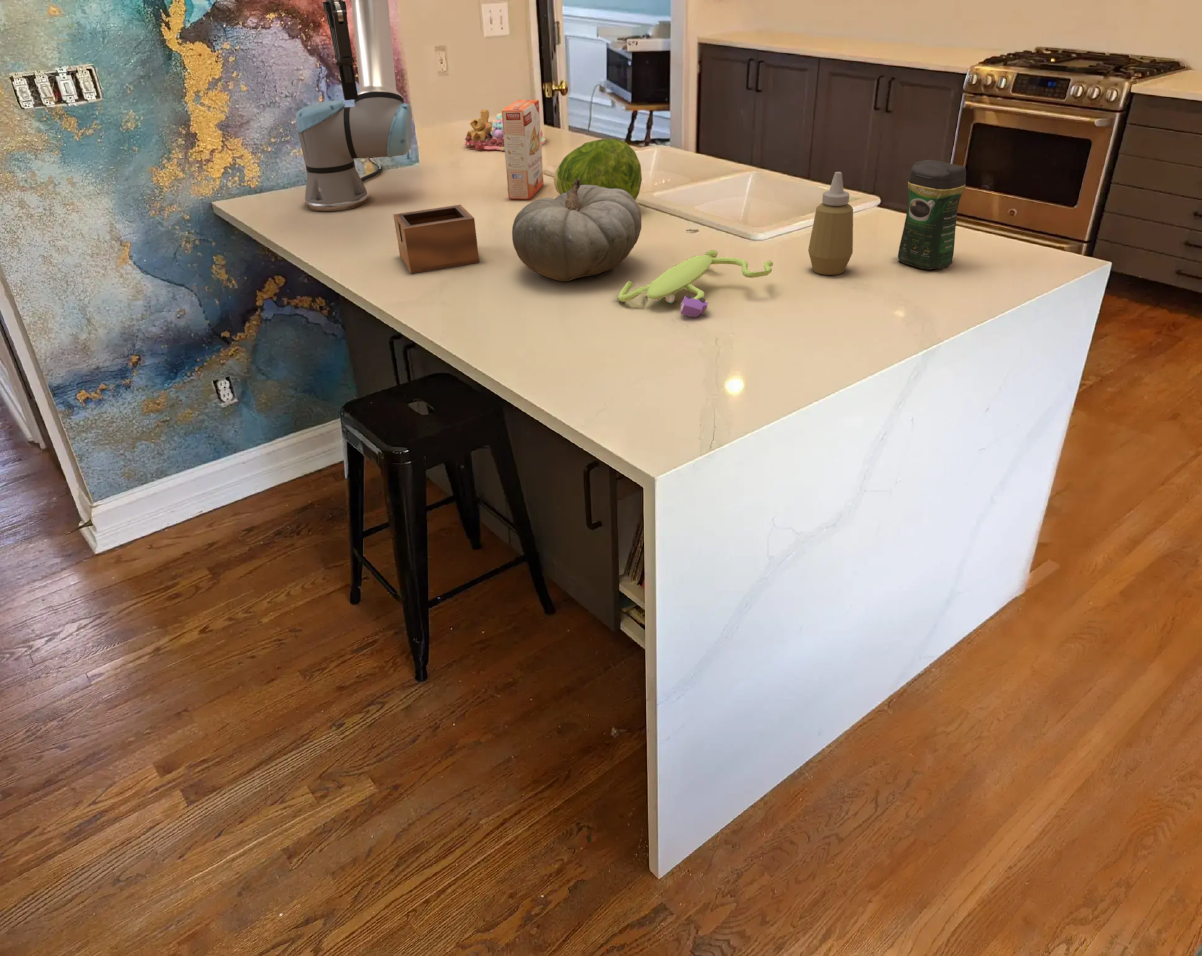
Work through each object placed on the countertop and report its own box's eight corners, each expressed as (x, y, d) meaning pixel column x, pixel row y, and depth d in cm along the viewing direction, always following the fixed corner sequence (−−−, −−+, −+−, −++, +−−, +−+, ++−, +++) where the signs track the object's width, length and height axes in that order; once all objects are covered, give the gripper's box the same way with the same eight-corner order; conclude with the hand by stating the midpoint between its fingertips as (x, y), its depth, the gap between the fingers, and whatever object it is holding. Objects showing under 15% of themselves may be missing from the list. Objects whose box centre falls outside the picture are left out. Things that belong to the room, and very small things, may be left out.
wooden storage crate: (392, 214, 179) (402, 228, 170) (461, 204, 183) (475, 217, 174) (399, 257, 184) (410, 273, 175) (466, 247, 188) (480, 262, 179)
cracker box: (531, 200, 217) (524, 109, 205) (507, 200, 218) (499, 109, 207) (545, 185, 228) (539, 98, 217) (523, 185, 229) (516, 98, 218)
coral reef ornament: (455, 152, 265) (451, 119, 260) (477, 135, 285) (474, 104, 280) (536, 151, 261) (534, 118, 256) (553, 134, 281) (551, 103, 276)
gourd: (674, 252, 171) (657, 163, 162) (585, 310, 159) (560, 217, 149) (587, 240, 188) (566, 158, 178) (500, 291, 176) (472, 207, 166)
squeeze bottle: (825, 281, 163) (835, 180, 153) (797, 268, 169) (805, 171, 159) (859, 272, 166) (871, 173, 156) (831, 260, 172) (840, 164, 162)
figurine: (786, 289, 160) (788, 259, 157) (675, 329, 146) (675, 297, 143) (715, 264, 172) (715, 236, 169) (606, 299, 159) (605, 269, 156)
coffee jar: (959, 265, 167) (977, 163, 157) (931, 274, 163) (948, 170, 153) (917, 252, 174) (932, 154, 164) (889, 261, 170) (903, 161, 160)
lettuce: (573, 227, 218) (599, 166, 218) (634, 230, 200) (663, 164, 201) (523, 191, 207) (551, 128, 207) (583, 191, 189) (613, 121, 190)
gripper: (303, -33, 174) (328, 96, 186) (311, -31, 163) (337, 106, 176) (342, -36, 176) (364, 92, 189) (352, -34, 166) (375, 102, 178)
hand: (351, 99), depth 182 cm, fingers closed
